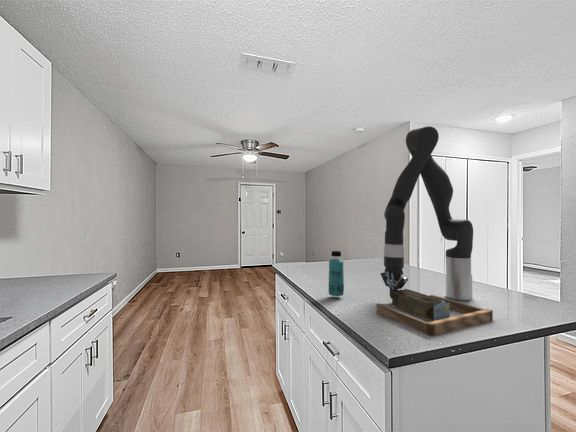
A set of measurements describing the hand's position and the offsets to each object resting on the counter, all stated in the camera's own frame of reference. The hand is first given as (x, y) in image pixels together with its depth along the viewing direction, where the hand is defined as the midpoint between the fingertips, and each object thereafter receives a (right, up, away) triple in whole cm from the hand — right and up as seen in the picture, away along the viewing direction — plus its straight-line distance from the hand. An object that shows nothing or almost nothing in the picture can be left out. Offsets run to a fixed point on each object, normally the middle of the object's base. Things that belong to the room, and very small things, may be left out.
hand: (393, 298), depth 113 cm
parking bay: (+7, -2, -16) cm, 17 cm away
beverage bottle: (-22, -2, +7) cm, 23 cm away
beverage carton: (+5, -2, -11) cm, 12 cm away
